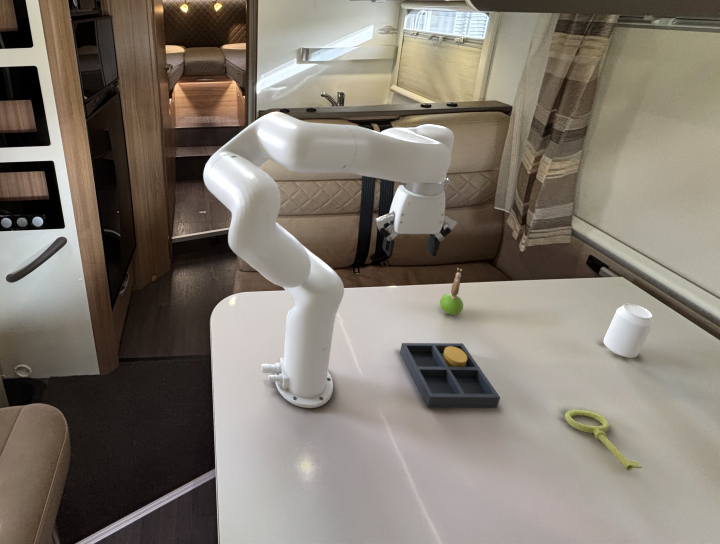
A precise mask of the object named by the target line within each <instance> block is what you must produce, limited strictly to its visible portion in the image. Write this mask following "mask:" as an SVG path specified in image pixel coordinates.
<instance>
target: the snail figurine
mask: <svg viewBox="0 0 720 544" xmlns="http://www.w3.org/2000/svg"><path fill="white" fill-rule="evenodd" d="M456 270H457V272H456V273H455V277H454V280H453V282H452V285H451V289H450V293H445V294H443V295H442V296H441V298H440V300H439V305H440V308H441V309H442V311H443V312H444V313H446V314H447V315H451V316H456V315H457V316H458V315H459V314H460V313H462V311H464V310H463V309H464V302H463V300H462V298H461V297H460V296H458V295H459V291H460V285H461V277H462V273H461V272H462V271H463V269H462V268H459V267H457V269H456ZM459 271H460V272H459Z"/></svg>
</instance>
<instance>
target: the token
mask: <svg viewBox="0 0 720 544" xmlns="http://www.w3.org/2000/svg"><path fill="white" fill-rule="evenodd" d="M443 359H444V360H445V362H446V364H447V365H448V367H465V365H466V362H467V355H466V354H465V353H464V352H463V351H462V350H461V349H459V348H456V347H452V346H449V347H446V348H445V350H444V354H443Z"/></svg>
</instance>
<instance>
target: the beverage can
mask: <svg viewBox="0 0 720 544" xmlns="http://www.w3.org/2000/svg"><path fill="white" fill-rule="evenodd" d="M653 325H654V320H653V314H652V313H651V311H650V310H648V309H647V308H645V307H643V306H641V305H638V304H635V303H628V302H627V303H624V304H623V305H622V306H619V307H618V308H617V309H616V311H615V312H614V315H613V318H612V320H611V322H610V324H609V326H608V328H607V331H606V334H605V335H604V338H603V343H604V346H605V347H606V348H607V349H608V350H610V351H611V352H612V353H613V354H616V355H618V356H619V357H622V358H623V357H624V358H631V359H632V358H636V357H638V356H639V354H640V352H641V350H642V348H643V346H644V344H645V342H646V340H647V339H648V336H649V334H650V332H651V329H652V328H653Z"/></svg>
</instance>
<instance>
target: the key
mask: <svg viewBox="0 0 720 544" xmlns="http://www.w3.org/2000/svg"><path fill="white" fill-rule="evenodd" d="M574 416H586V417H589V418H592V419H594V420H596V421H598V422H599V423H601V424H602V425H588V424H583V423H581V422H578V421H576V420H575V419H573V417H574ZM564 417H565V421H566V422H567V424H569V425H570V426H571V427H572V428H574V429H576V430H578V431H581V432H584V433H589V434H594V435H593V436H594V438H595V439H596V440H598V441H600V442H601V443H602V444H603V445H604V446H605V447H606V448H607V449H608V450H609V452H610V453H611V454H612V455H613V457H615V458H616V459H617V460H618V461H619V462H620V463H621V465H622V466H623V467H624V468H625V469H626V470H628V471H631V470H634V469H642V465H641V464H639V462H638V461H637V460H629V459H627V457H626V456H625V455H624V454H623V453H622V452H621V451H620V450H619V449H618V448H617V447H616V446H615V445H614V444H613V443H612V441H610V439H609V438H608V437H607V434H606V432H607V431H608V430H609V429H610V423H609V421H608V420H607V419H606V417H604V416H603V415H601V414H599V413H597V412H595V411H590V410H587V409H581V408H580V409H578V408H577V409H575V408H573V409H569V410H567V411H566V412H565V413H564Z"/></svg>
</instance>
